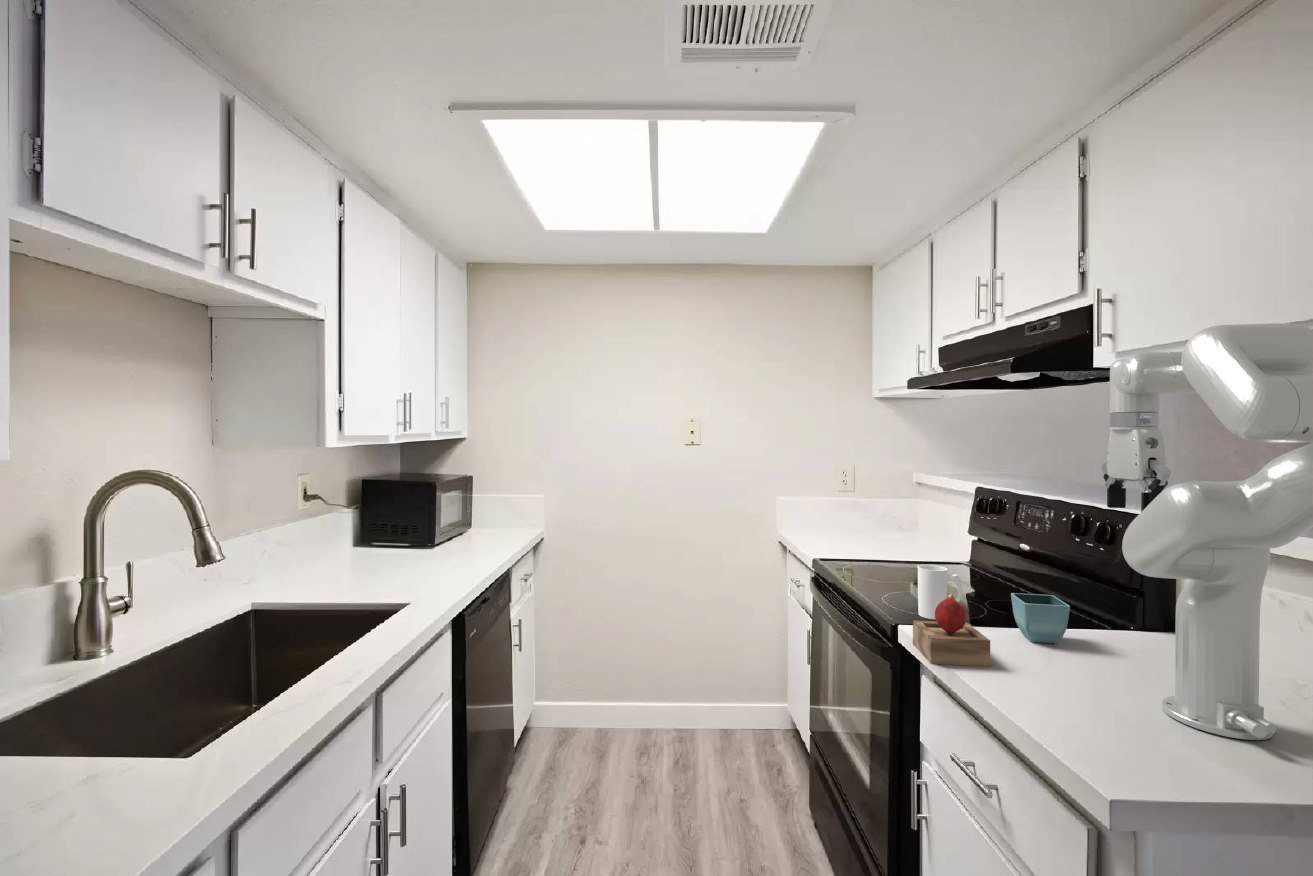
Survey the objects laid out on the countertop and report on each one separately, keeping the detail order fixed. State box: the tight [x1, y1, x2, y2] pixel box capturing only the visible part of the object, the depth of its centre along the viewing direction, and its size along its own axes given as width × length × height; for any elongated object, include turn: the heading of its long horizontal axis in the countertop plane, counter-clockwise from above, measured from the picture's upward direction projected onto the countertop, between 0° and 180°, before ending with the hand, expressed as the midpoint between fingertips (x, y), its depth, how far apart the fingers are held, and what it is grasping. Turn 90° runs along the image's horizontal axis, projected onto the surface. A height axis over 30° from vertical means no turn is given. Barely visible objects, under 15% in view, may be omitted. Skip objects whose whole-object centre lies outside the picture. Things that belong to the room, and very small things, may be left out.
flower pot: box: [1010, 592, 1071, 644], centre depth 128 cm, size 9×9×9 cm
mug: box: [917, 564, 964, 621], centre depth 144 cm, size 10×7×12 cm, turn 62°
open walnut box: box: [912, 620, 991, 667], centre depth 119 cm, size 11×11×5 cm
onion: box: [935, 594, 967, 634], centre depth 119 cm, size 6×6×8 cm
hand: (1133, 510), depth 113 cm, fingers open, 9 cm apart
